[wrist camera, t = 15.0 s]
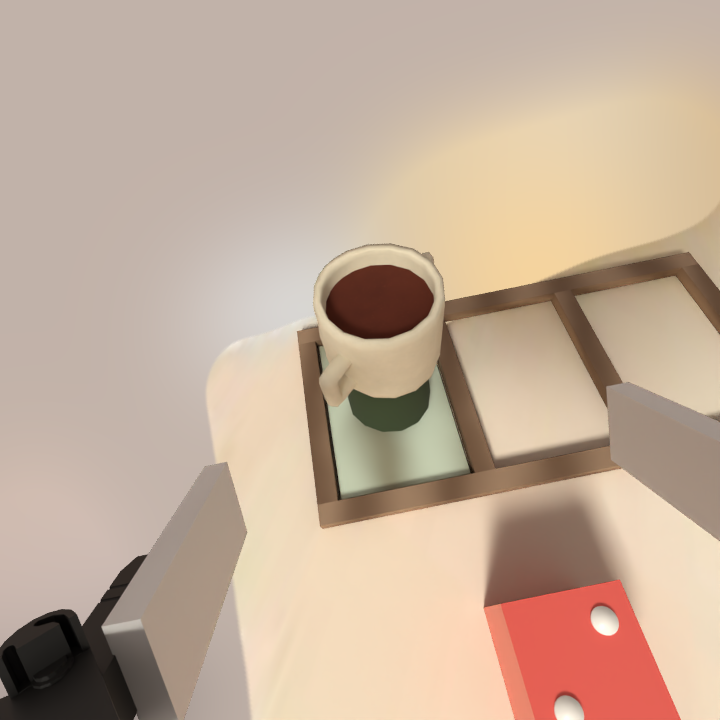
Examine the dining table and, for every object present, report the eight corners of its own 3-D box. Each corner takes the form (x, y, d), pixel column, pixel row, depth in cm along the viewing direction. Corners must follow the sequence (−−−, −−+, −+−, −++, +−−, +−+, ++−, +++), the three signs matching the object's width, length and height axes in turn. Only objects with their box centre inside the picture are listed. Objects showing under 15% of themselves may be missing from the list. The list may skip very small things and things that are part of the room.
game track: (682, 260, 39) (688, 252, 38) (813, 429, 30) (825, 423, 29) (299, 337, 39) (297, 331, 38) (322, 528, 30) (320, 525, 29)
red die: (580, 588, 27) (620, 579, 21) (628, 711, 24) (689, 736, 18) (483, 607, 27) (500, 603, 21) (518, 733, 24) (549, 765, 18)
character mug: (389, 329, 38) (380, 206, 26) (464, 368, 35) (488, 248, 24) (310, 429, 34) (259, 333, 22) (388, 481, 31) (373, 401, 20)
